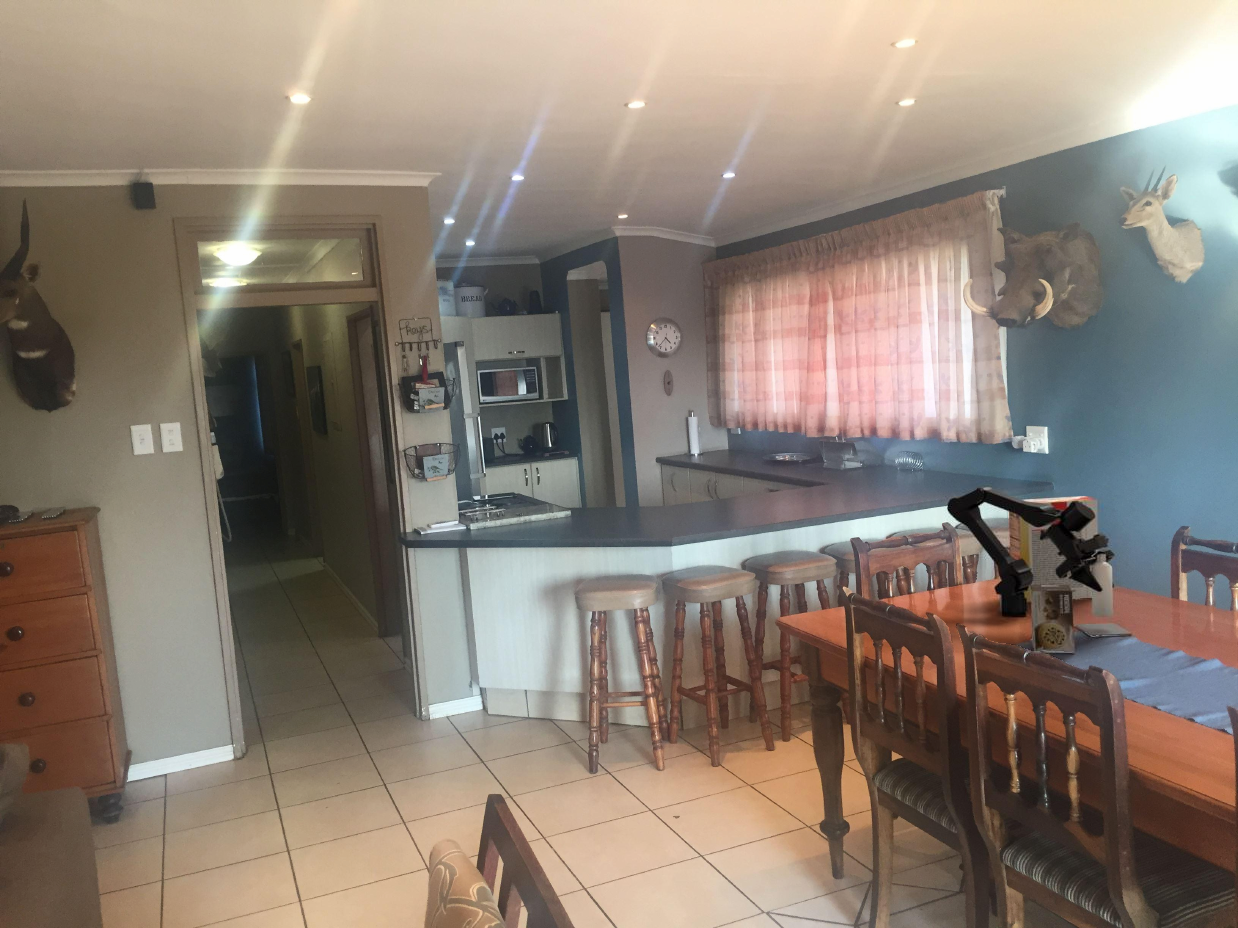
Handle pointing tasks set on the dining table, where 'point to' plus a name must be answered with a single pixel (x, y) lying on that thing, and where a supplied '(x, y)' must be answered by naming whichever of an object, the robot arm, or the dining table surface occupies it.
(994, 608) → the dining table surface
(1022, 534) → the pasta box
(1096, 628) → the coaster
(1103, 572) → the white bottle
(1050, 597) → the cookie box
